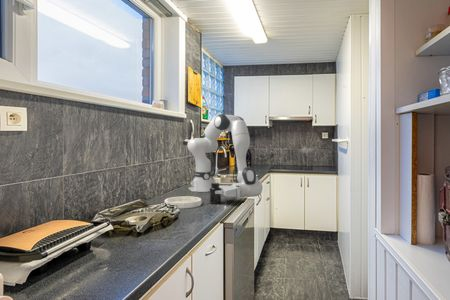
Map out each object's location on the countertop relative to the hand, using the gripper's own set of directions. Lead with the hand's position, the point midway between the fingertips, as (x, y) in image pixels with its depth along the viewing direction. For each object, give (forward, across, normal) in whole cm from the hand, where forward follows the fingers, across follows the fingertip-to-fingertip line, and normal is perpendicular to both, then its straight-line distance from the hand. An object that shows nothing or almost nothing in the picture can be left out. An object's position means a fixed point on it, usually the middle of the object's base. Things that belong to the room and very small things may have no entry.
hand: (213, 191), depth 196 cm
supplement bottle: (-1, 0, +7) cm, 7 cm away
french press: (-35, -72, +8) cm, 81 cm away
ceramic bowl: (+18, 0, +7) cm, 20 cm away
